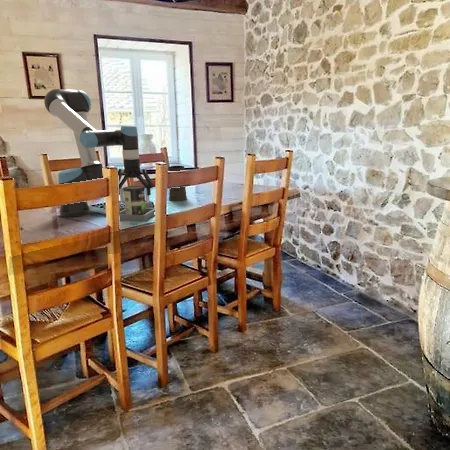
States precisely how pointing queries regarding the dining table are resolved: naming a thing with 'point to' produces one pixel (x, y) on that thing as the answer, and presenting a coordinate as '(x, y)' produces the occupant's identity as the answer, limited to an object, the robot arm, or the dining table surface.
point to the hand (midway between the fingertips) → (135, 201)
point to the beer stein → (177, 193)
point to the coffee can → (134, 200)
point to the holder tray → (137, 217)
